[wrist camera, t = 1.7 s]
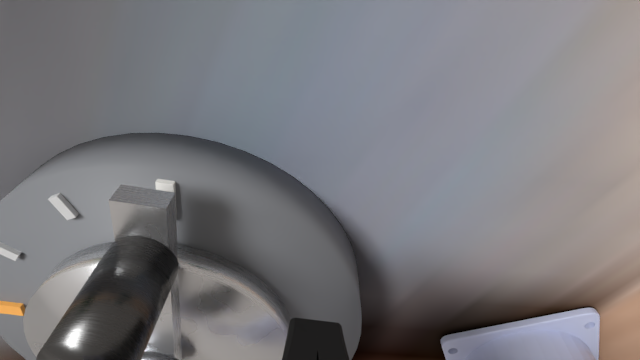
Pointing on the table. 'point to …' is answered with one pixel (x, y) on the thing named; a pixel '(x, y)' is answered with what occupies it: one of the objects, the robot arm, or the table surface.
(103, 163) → the dial base
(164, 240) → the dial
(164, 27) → the table surface
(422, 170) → the table surface
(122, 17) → the table surface
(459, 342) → the robot arm
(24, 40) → the table surface
